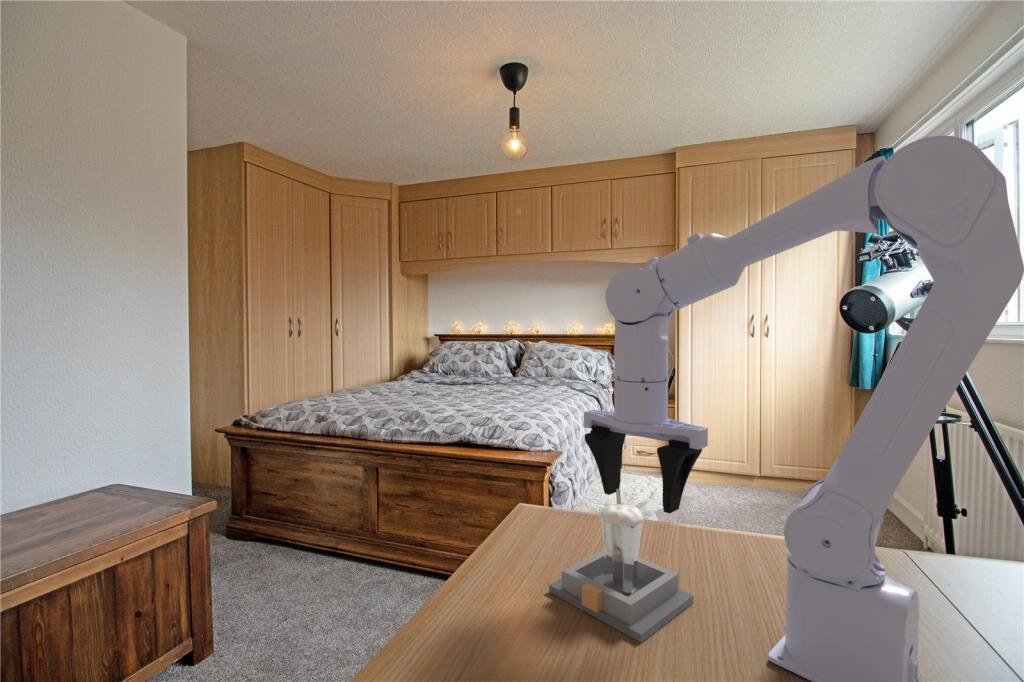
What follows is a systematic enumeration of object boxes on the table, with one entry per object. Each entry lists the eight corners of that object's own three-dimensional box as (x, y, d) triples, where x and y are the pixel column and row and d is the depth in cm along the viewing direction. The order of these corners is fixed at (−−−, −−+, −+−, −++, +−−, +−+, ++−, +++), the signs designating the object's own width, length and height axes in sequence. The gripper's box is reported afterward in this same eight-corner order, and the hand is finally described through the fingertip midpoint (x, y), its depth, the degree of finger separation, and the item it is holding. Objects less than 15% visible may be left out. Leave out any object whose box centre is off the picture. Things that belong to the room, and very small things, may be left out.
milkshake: (637, 573, 58) (638, 489, 58) (645, 599, 53) (646, 506, 53) (598, 572, 59) (598, 488, 58) (602, 597, 54) (603, 505, 53)
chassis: (693, 602, 54) (693, 577, 54) (639, 644, 47) (639, 615, 47) (603, 562, 63) (603, 540, 63) (547, 592, 56) (547, 568, 56)
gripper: (721, 382, 53) (720, 509, 53) (608, 372, 63) (608, 478, 64) (689, 388, 48) (687, 528, 48) (572, 376, 58) (572, 491, 59)
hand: (640, 500), depth 56 cm, fingers open, 7 cm apart
